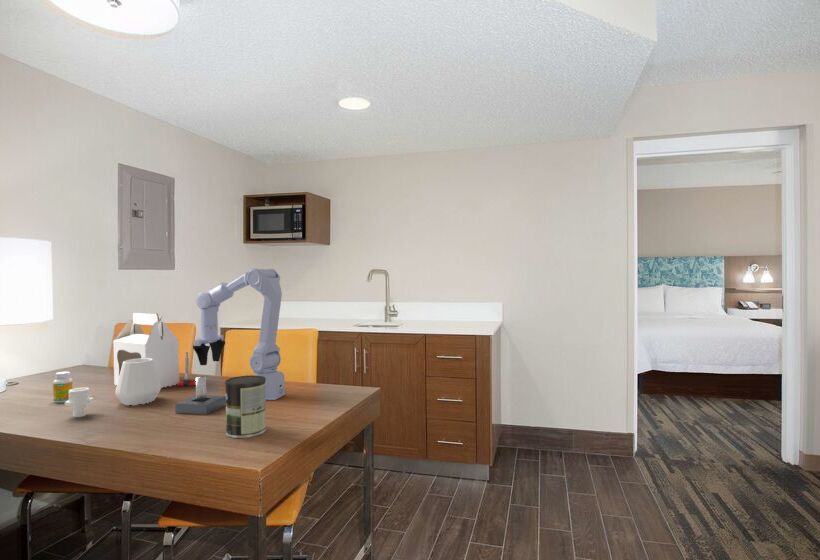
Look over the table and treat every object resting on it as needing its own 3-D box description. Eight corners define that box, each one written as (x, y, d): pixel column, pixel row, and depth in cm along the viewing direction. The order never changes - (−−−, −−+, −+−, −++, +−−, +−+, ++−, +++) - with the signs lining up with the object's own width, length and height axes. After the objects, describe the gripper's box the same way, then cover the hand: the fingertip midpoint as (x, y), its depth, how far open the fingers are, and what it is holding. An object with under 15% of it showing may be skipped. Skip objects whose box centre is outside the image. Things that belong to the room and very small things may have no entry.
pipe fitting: (61, 419, 141) (61, 392, 141) (73, 413, 148) (73, 387, 148) (85, 418, 143) (85, 391, 143) (96, 411, 150) (95, 386, 150)
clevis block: (226, 405, 155) (225, 396, 155) (206, 414, 145) (205, 404, 145) (197, 404, 157) (196, 394, 157) (175, 413, 147) (175, 403, 147)
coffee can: (220, 439, 123) (219, 384, 122) (232, 426, 133) (231, 375, 133) (261, 437, 123) (260, 383, 123) (270, 425, 133) (269, 374, 133)
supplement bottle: (54, 404, 160) (53, 375, 159) (53, 400, 164) (52, 372, 164) (73, 401, 163) (73, 372, 163) (72, 398, 167) (71, 370, 167)
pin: (208, 408, 152) (207, 376, 152) (202, 410, 149) (202, 378, 149) (200, 407, 153) (199, 376, 152) (194, 410, 150) (193, 378, 150)
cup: (163, 395, 170) (162, 355, 170) (158, 404, 157) (157, 362, 157) (119, 399, 165) (119, 358, 165) (111, 409, 152) (110, 365, 152)
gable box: (180, 384, 187) (178, 312, 186) (146, 391, 175) (145, 315, 175) (147, 378, 198) (145, 311, 198) (113, 385, 187) (112, 313, 186)
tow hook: (185, 382, 192) (174, 386, 183) (185, 350, 193) (175, 352, 183) (206, 382, 192) (197, 386, 183) (206, 349, 193) (197, 352, 183)
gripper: (211, 323, 181) (212, 359, 181) (186, 327, 167) (186, 366, 167) (228, 323, 180) (228, 359, 180) (204, 327, 166) (205, 367, 166)
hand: (209, 363), depth 173 cm, fingers open, 7 cm apart
